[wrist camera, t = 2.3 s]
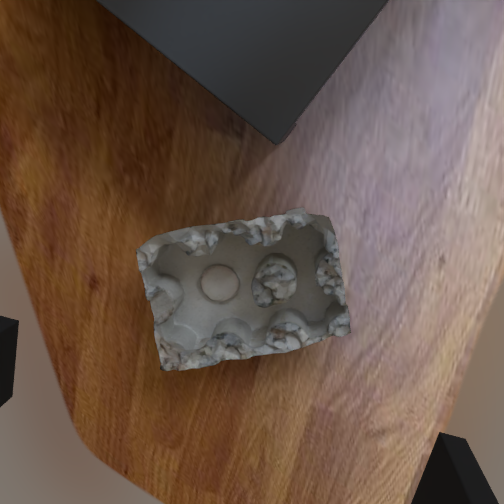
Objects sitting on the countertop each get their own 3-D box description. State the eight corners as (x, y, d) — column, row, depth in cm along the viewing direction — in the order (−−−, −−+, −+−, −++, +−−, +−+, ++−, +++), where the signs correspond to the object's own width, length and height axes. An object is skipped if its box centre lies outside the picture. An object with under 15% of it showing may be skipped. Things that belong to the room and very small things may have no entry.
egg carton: (173, 342, 28) (151, 377, 24) (147, 223, 26) (119, 240, 22) (348, 326, 26) (356, 360, 22) (334, 198, 25) (339, 211, 21)
